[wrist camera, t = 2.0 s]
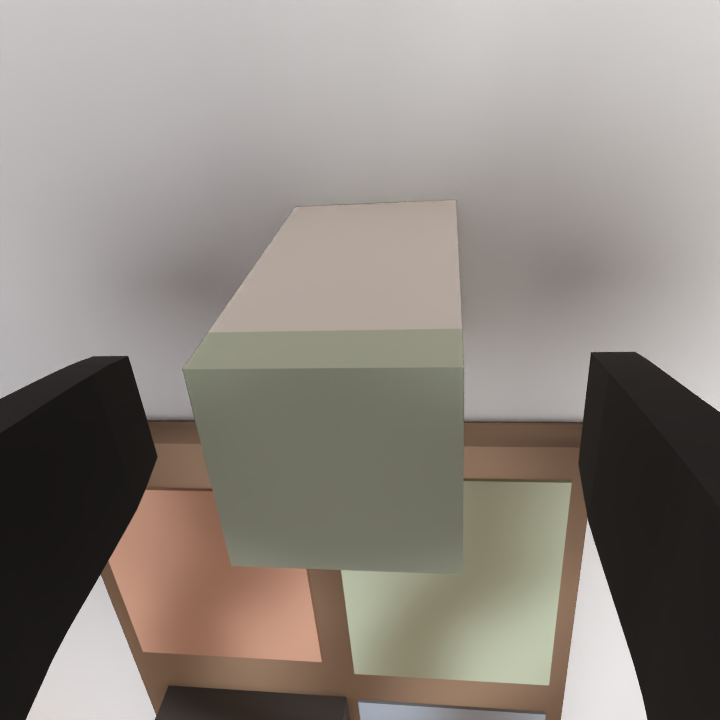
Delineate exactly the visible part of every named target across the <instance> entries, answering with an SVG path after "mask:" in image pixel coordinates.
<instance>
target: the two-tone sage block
mask: <svg viewBox="0 0 720 720" xmlns="http://www.w3.org/2000/svg"><path fill="white" fill-rule="evenodd" d="M182 370H183V374H184V378H185V382H186V386H187V390H188V394H189V398H190V402H191V406H192V410H193V414H194V418H195V422H196V426H197V430H198V434H199V438H200V442H201V446H202V450H203V454H204V458H205V462H206V466H207V470H208V474H209V478H210V482H211V487H212V491H213V495H214V499H215V503H216V507H217V511H218V515H219V519H220V523H221V527H222V531H223V535H224V539H225V543H226V547H227V551H228V555H229V559H230V563H231V566H246V567H273V568H299V569H326V570H353V571H379V572H406V573H432V574H459V575H463V474H464V358H463V337H462V315H461V294H460V273H459V252H458V231H457V210H456V200H440V201H417V202H394V203H370V204H347V205H324V206H301V207H295V208H294V209H293V211H292V212H291V214H290V215H289V217H288V218H287V219H286V221H285V222H284V224H283V225H282V227H281V228H280V229H279V231H278V232H277V234H276V235H275V237H274V238H273V240H272V241H271V242H270V244H269V245H268V247H267V248H266V250H265V251H264V252H263V254H262V255H261V257H260V258H259V260H258V261H257V263H256V264H255V265H254V267H253V268H252V270H251V271H250V273H249V274H248V275H247V277H246V278H245V280H244V281H243V283H242V284H241V286H240V287H239V288H238V290H237V291H236V293H235V294H234V296H233V297H232V298H231V300H230V301H229V303H228V304H227V306H226V307H225V309H224V310H223V311H222V313H221V314H220V316H219V317H218V319H217V320H216V321H215V323H214V324H213V326H212V327H211V329H210V330H209V332H208V333H207V334H206V336H205V337H204V339H203V340H202V342H201V343H200V344H199V346H198V347H197V349H196V350H195V352H194V353H193V354H192V356H191V357H190V359H189V360H188V362H187V363H186V365H185V366H184V367H183V369H182Z"/></svg>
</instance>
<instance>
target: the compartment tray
mask: <svg viewBox="0 0 720 720" xmlns="http://www.w3.org/2000/svg"><path fill="white" fill-rule="evenodd" d="M147 422H148V425H149V428H150V432H151V435H152V439H153V442H154V445H155V449H156V452H157V456H158V458H157V460H156V463H155V466H154V469H153V471H152V474H151V477H150V479H149V482H148V485H147V487H146V490H145V492H144V495H143V497H142V499H141V502H140V504H139V506H138V509H137V511H136V513H135V514H134V516H133V518H132V520H131V522H130V524H129V525H128V527H127V529H126V531H125V532H124V534H123V536H122V538H121V540H120V541H119V543H118V545H117V547H116V548H115V550H114V552H113V554H112V555H111V557H110V559H109V561H108V562H107V564H106V566H105V567H104V569H103V571H102V573H101V576H102V579H103V581H104V584H105V586H106V589H107V591H108V594H109V596H110V599H111V601H112V604H113V606H114V609H115V612H116V614H117V617H118V619H119V622H120V624H121V627H122V629H123V632H124V634H125V637H126V639H127V642H128V645H129V647H130V650H131V652H132V655H133V657H134V660H135V662H136V665H137V667H138V670H139V672H140V675H141V678H142V680H143V683H144V685H145V688H146V690H147V693H148V695H149V698H150V700H151V703H152V705H153V708H154V710H155V713H156V718H155V720H561V713H562V706H563V698H564V691H565V683H566V676H567V668H568V660H569V653H570V645H571V638H572V630H573V623H574V615H575V607H576V600H577V592H578V585H579V577H580V570H581V562H582V555H583V547H584V539H585V532H586V524H587V511H586V506H585V501H584V495H583V489H582V483H581V477H580V471H579V465H578V461H579V452H580V443H581V435H582V426H583V423H469V422H464V474H463V575H459V574H432V573H406V572H379V571H353V570H326V569H299V568H273V567H246V566H231V563H230V559H229V555H228V551H227V547H226V543H225V539H224V535H223V531H222V527H221V523H220V519H219V515H218V511H217V507H216V503H215V499H214V495H213V491H212V487H211V482H210V478H209V474H208V470H207V466H206V462H205V458H204V454H203V450H202V446H201V442H200V438H199V434H198V430H197V426H196V422H195V421H147Z"/></svg>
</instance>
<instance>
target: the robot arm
mask: <svg viewBox="0 0 720 720" xmlns="http://www.w3.org/2000/svg"><path fill="white" fill-rule="evenodd" d="M157 458H158V456H157V452H156V449H155V445H154V442H153V439H152V435H151V432H150V428H149V425H148V422H147V418H146V415H145V411H144V408H143V405H142V401H141V398H140V394H139V391H138V388H137V384H136V381H135V378H134V374H133V371H132V367H131V364H130V361H129V357H128V356H93V357H90V358H88V359H85V360H82V361H79V362H77V363H74V364H72V365H70V366H67V367H65V368H63V369H61V370H58V371H56V372H54V373H52V374H50V375H48V376H46V377H44V378H42V379H40V380H37V381H35V382H33V383H31V384H29V385H27V386H25V387H23V388H21V389H19V390H17V391H15V392H13V393H11V394H9V395H7V396H5V397H3V398H1V399H0V720H26V718H27V715H28V713H29V711H30V709H31V707H32V704H33V702H34V700H35V698H36V695H37V693H38V691H39V689H40V687H41V684H42V682H43V680H44V678H45V676H46V673H47V671H48V669H49V667H50V664H51V662H52V660H53V658H54V656H55V654H56V652H57V650H58V648H59V647H60V645H61V643H62V641H63V639H64V637H65V635H66V633H67V631H68V629H69V628H70V626H71V624H72V623H73V621H74V619H75V617H76V616H77V614H78V612H79V610H80V609H81V607H82V605H83V604H84V602H85V600H86V598H87V597H88V595H89V593H90V592H91V590H92V588H93V586H94V585H95V583H96V581H97V579H98V578H99V576H100V574H101V573H102V571H103V569H104V567H105V566H106V564H107V562H108V561H109V559H110V557H111V555H112V554H113V552H114V550H115V548H116V547H117V545H118V543H119V541H120V540H121V538H122V536H123V534H124V532H125V531H126V529H127V527H128V525H129V524H130V522H131V520H132V518H133V516H134V514H135V513H136V511H137V509H138V506H139V504H140V502H141V499H142V497H143V495H144V492H145V490H146V487H147V485H148V482H149V479H150V477H151V474H152V471H153V469H154V466H155V463H156V460H157ZM578 465H579V471H580V477H581V483H582V489H583V495H584V501H585V506H586V511H587V517H588V522H589V525H590V528H591V532H592V535H593V538H594V541H595V545H596V548H597V551H598V554H599V557H600V561H601V564H602V567H603V570H604V573H605V576H606V579H607V582H608V586H609V589H610V592H611V595H612V598H613V601H614V604H615V607H616V610H617V613H618V617H619V620H620V623H621V626H622V629H623V632H624V635H625V638H626V641H627V645H628V648H629V651H630V654H631V657H632V660H633V663H634V667H635V671H636V674H637V678H638V682H639V685H640V689H641V693H642V696H643V701H644V705H645V710H646V715H647V719H648V720H720V412H719V411H717V410H716V409H715V408H713V407H712V406H710V405H709V404H708V403H706V402H705V401H703V400H702V399H701V398H699V397H698V396H697V395H695V394H694V393H692V392H691V391H690V390H688V389H687V388H686V387H684V386H683V385H682V384H680V383H679V382H677V381H676V380H675V379H673V378H672V377H671V376H669V375H668V374H667V373H665V372H664V371H663V370H661V369H660V368H658V367H657V366H656V365H654V364H653V363H651V362H650V361H649V360H647V359H646V358H644V357H643V356H641V355H639V354H638V353H636V352H591V358H590V366H589V375H588V383H587V392H586V400H585V409H584V418H583V426H582V435H581V443H580V452H579V461H578Z"/></svg>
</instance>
